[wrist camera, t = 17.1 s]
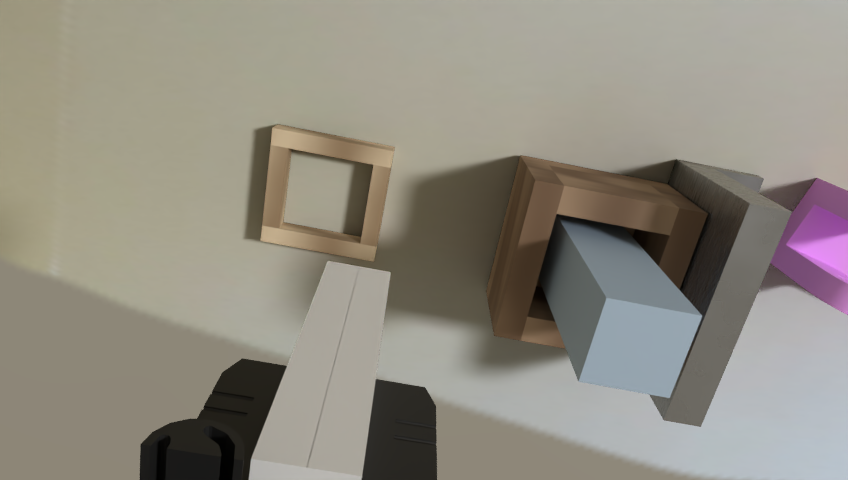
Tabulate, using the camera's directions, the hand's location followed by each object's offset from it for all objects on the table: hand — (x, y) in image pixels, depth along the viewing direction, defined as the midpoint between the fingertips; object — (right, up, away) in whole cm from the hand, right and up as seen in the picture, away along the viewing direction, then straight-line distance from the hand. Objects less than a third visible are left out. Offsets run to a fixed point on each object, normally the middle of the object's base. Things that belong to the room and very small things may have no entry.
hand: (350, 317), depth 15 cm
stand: (-4, +5, +23) cm, 23 cm away
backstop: (+18, +1, +24) cm, 30 cm away
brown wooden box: (+11, +2, +23) cm, 26 cm away
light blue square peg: (+11, +1, +22) cm, 24 cm away
